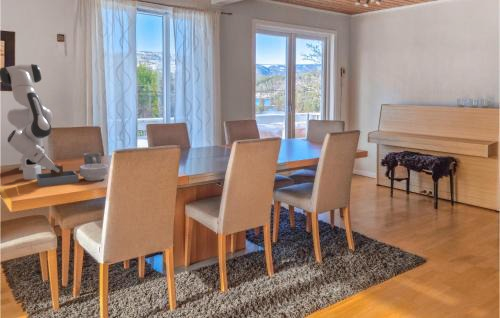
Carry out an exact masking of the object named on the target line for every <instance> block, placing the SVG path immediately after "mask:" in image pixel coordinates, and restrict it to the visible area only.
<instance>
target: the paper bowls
mask: <svg viewBox="0 0 500 318" xmlns="http://www.w3.org/2000/svg"><path fill="white" fill-rule="evenodd" d="M107 175H109V165H108V164H105V163H101V164H87V165H85V164H82V165H80V166H79V176H81V177H83V179H84V180H85V181H89V182H92V181H96V182H97V181H102V180H104V179H105V177H106V176H107Z"/></svg>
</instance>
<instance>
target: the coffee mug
mask: <svg viewBox="0 0 500 318" xmlns="http://www.w3.org/2000/svg"><path fill="white" fill-rule="evenodd" d="M101 155H102V154H101V152H85V153H84V154H83V160H84V165H87V164H102V157H101Z"/></svg>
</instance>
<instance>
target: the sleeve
mask: <svg viewBox="0 0 500 318" xmlns="http://www.w3.org/2000/svg"><path fill="white" fill-rule="evenodd" d="M60 165H61V166H57V168H58V169H59V170H60V171H59V172H58V173H57V172H56V171H54V170H53V169H52V170H50V173H51V178H52V177H61V176H63V171H64V168H63V166H64V165H63V164H60Z"/></svg>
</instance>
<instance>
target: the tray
mask: <svg viewBox="0 0 500 318" xmlns="http://www.w3.org/2000/svg"><path fill="white" fill-rule="evenodd" d="M36 177H37V179H36V182H37V184H38V186H39V188H40V187H48V186H57V185H65V184H67V185H68V184H74V183H80V179H79V178H80V177H79V174H78V173H77V172H76V171H75V170H73V169H71V170H63V176H61V177H52V178H51V172H43V173H42V172H41V174H36Z"/></svg>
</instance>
